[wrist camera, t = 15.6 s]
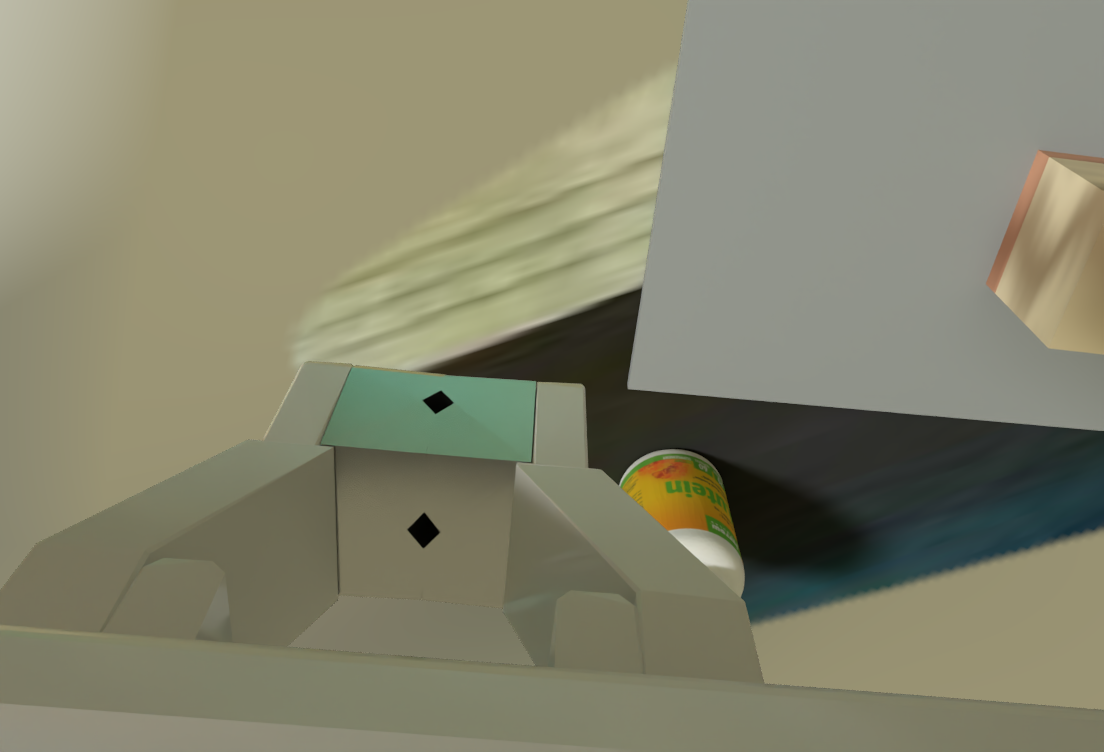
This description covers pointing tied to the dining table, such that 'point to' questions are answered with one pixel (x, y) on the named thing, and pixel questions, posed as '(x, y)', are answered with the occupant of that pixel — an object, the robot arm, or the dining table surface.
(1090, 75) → the slate mat
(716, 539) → the supplement bottle
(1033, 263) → the birch block
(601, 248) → the dining table surface
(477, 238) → the dining table surface
